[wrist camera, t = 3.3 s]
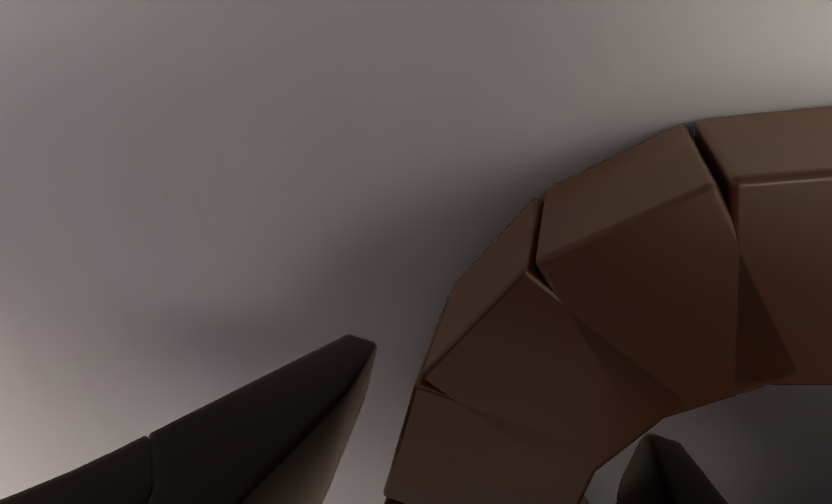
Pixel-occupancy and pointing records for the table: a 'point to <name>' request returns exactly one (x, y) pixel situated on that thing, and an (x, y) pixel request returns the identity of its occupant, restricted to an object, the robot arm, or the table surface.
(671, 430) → the table surface
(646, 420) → the walnut ring
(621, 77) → the table surface
